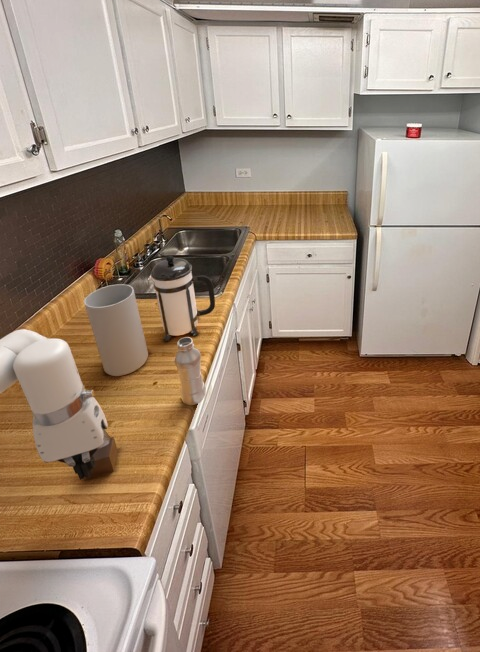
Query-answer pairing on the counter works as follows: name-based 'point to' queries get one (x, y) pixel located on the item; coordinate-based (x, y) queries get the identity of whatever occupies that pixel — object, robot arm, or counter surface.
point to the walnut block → (104, 459)
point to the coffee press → (178, 296)
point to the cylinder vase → (117, 328)
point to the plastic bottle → (190, 372)
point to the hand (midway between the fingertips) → (86, 471)
